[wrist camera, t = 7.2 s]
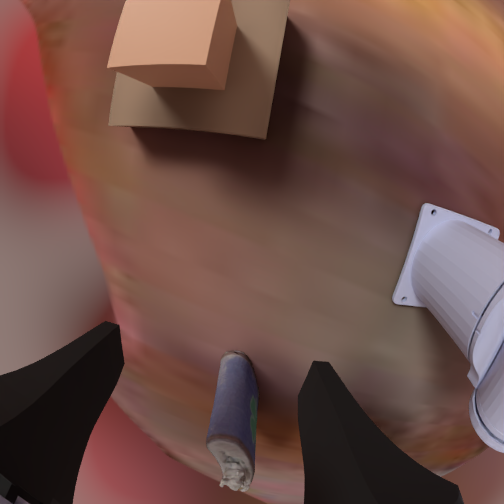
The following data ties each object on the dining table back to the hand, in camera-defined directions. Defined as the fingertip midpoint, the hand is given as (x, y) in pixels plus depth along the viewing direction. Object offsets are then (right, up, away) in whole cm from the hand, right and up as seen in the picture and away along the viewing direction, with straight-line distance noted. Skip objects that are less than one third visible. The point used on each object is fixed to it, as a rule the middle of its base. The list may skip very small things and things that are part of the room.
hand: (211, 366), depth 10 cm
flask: (+1, -8, +15) cm, 17 cm away
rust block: (-2, +15, +2) cm, 15 cm away
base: (-1, +16, +5) cm, 17 cm away
